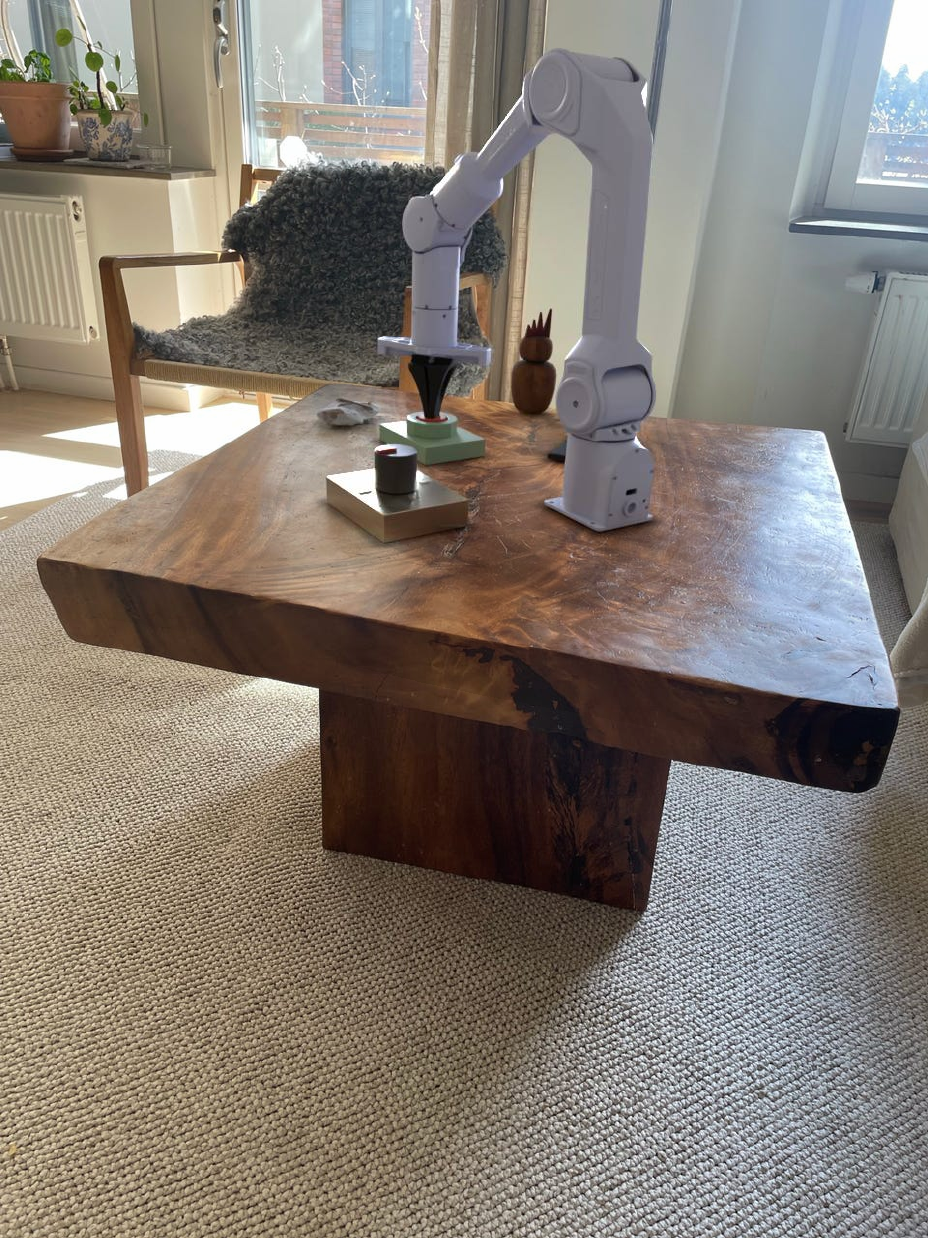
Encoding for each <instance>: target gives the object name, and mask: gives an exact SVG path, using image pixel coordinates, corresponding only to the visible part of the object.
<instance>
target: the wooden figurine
mask: <svg viewBox="0 0 928 1238" xmlns="http://www.w3.org/2000/svg"><path fill="white" fill-rule="evenodd" d="M543 317H544V316H543V312H542V311H540V312H539V315H538V320H536V319H532V323H531V325H530V324H527V326H526V329H525V333H524V336H523V337H522V338H521V339H520V342H519V348H518V351H519V356H520V358H521V360H520V359H519V361H516V362H515V363H514V364H513V366H512V369H511V374H510V391H511V399H512V403H513V406H514V407H515V409H516V410H518V411H519V412H522V413H526V414H540V413H544V412H546V411H547V410H548V409H549V407H550V406H551V403H552V401H553V399H554V395H555V391H556V390H555V389H556V384H557V369H556V367H555V365H554V364H553V363H552V362H551V361H549V360H550V359H551V358H552V355H553V351H554V347H553V346H554V344H553V340H552V339H551V338H550V337H551V329H552V319H553V318H552V317H553V308H549V310H548V313H547V316H546V318H545V322H544V319H543ZM536 321H537V322H536Z"/></svg>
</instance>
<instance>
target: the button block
mask: <svg viewBox="0 0 928 1238" xmlns="http://www.w3.org/2000/svg"><path fill="white" fill-rule="evenodd" d="M423 413H424V411H423V410H422V411H417V412H412V413H410V414H408V415H406V420H399V421H394V422H385V423H379V441H380V442H382V443H384V444H385V445H387V444H402V445H408V446H411V447H414V448H416V449H417V462H419V463H420V464H421V465H424V466H429V465H435V464H442V463H447V462H448V463H449V462H455V461H461V460H468V459H474V458H480V457H485V455H486V443H487V442H486V439H485V438H483V437H481V436H479V435H476V434H475V433H473V432H471V431H468V430H466V429H464V428H462V427H459V426H458V417H457V416H455V415H453V414H451V413H448V412H442V411H440V414H443V415H445V416H446V421H444V422H424V421H420V420H418V415H420V414H423Z"/></svg>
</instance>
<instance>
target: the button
mask: <svg viewBox="0 0 928 1238" xmlns="http://www.w3.org/2000/svg"><path fill="white" fill-rule="evenodd" d="M418 420H420V421H424V422H444V421H446V416H445V415H443V414H439V416H438V417H436V418H435V419H432V418H425V417H424V413H423V414H420V415H418Z"/></svg>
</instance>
